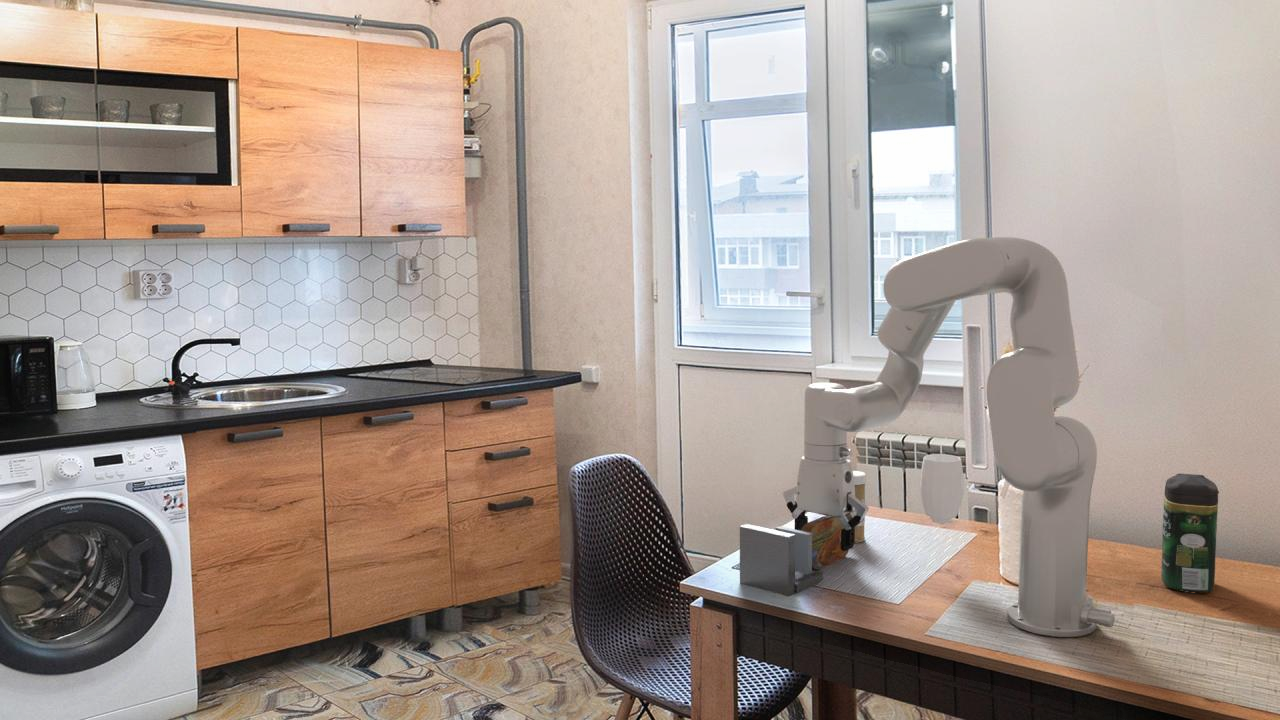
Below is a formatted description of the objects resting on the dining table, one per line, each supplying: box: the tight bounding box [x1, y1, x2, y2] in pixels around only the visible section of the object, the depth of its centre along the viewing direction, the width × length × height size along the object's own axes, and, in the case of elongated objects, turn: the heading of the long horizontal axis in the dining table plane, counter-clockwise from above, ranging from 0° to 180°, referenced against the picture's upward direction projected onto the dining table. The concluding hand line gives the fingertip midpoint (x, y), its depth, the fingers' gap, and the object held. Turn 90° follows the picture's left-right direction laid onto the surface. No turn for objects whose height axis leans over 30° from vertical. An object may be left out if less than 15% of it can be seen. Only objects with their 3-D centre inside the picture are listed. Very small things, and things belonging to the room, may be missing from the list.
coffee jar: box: [1161, 473, 1220, 594], centre depth 169 cm, size 10×8×19 cm
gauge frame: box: [739, 523, 824, 597], centre depth 175 cm, size 11×10×10 cm
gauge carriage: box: [774, 525, 813, 575], centre depth 178 cm, size 9×1×7 cm, turn 47°
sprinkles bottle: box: [852, 470, 867, 544], centre depth 198 cm, size 5×5×13 cm
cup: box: [919, 453, 965, 525], centre depth 177 cm, size 7×7×21 cm
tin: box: [801, 515, 850, 570], centre depth 185 cm, size 15×3×8 cm, turn 138°
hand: (823, 543), depth 185 cm, fingers open, 9 cm apart
